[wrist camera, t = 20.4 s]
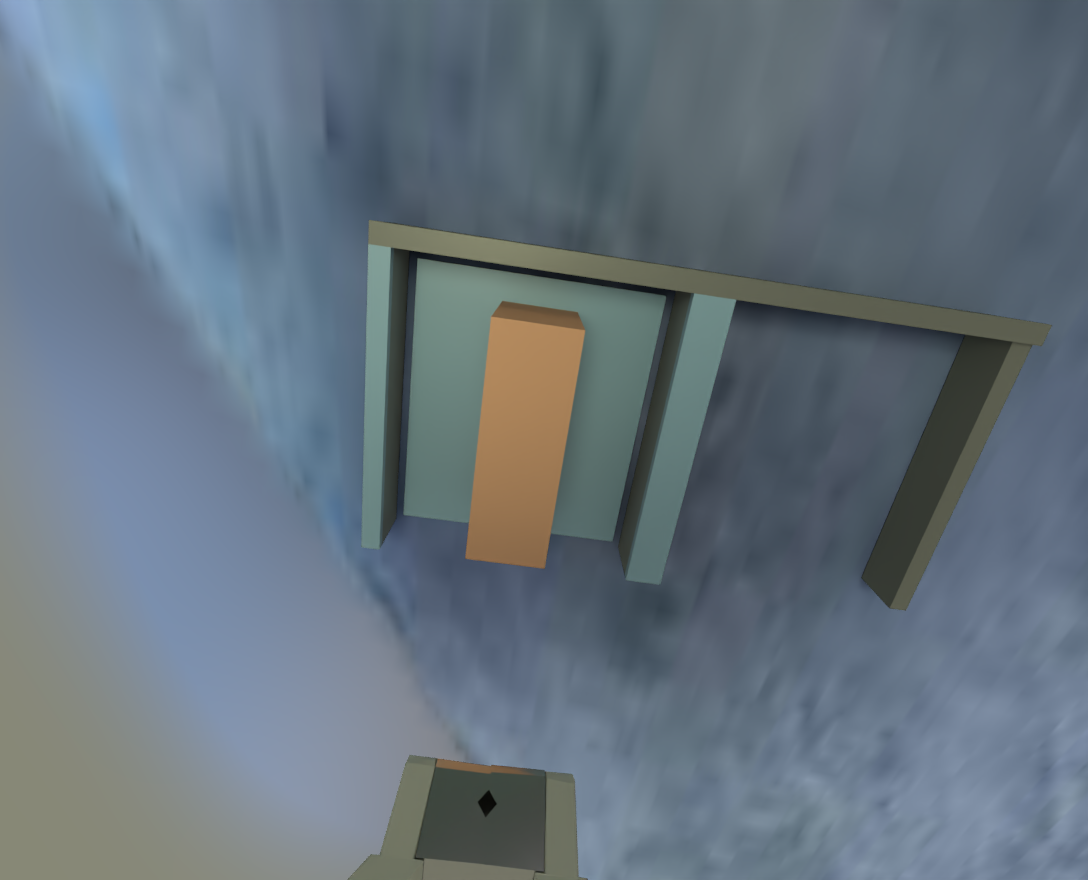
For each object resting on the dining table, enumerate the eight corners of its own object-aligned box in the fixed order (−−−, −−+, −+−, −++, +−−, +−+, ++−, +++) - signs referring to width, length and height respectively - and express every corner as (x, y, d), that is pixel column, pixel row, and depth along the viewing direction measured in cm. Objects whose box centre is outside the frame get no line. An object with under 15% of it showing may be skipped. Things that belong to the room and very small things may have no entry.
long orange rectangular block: (577, 311, 28) (585, 330, 22) (544, 511, 32) (544, 568, 26) (502, 300, 28) (491, 316, 22) (479, 502, 32) (465, 558, 26)
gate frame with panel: (992, 315, 28) (1051, 325, 25) (876, 579, 34) (911, 615, 31) (390, 222, 27) (369, 220, 23) (380, 516, 33) (361, 547, 29)
